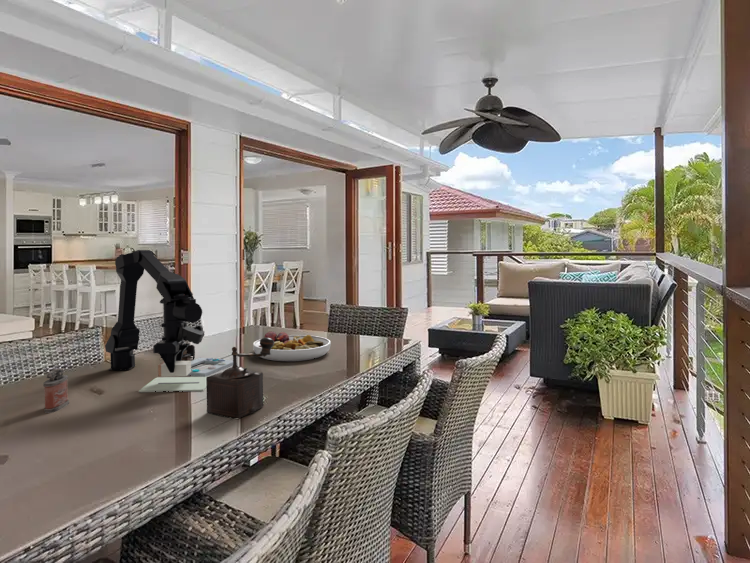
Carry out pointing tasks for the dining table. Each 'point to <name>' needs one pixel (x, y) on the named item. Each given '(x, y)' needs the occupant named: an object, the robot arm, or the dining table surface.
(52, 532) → the dining table surface
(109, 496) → the dining table surface
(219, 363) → the electronic device
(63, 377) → the lighter
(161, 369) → the block
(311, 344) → the bowl
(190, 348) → the sunglasses
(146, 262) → the robot arm
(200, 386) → the mat
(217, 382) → the manual coffee grinder
